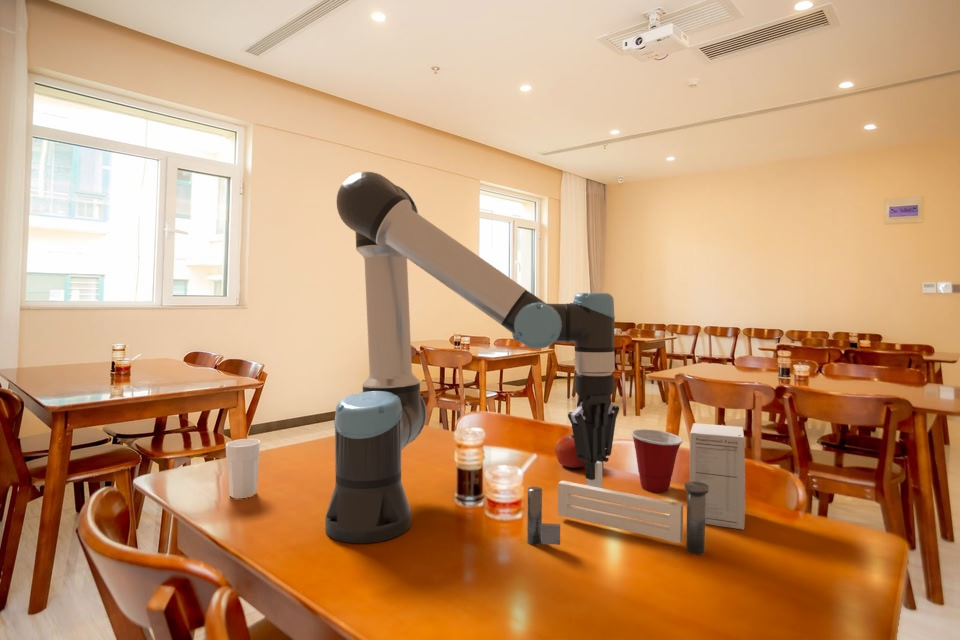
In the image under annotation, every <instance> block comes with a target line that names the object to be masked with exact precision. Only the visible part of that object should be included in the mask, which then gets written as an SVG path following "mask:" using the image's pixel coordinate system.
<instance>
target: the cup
mask: <svg viewBox="0 0 960 640" xmlns="http://www.w3.org/2000/svg"><path fill="white" fill-rule="evenodd" d="M260 453H261V440H260V439H257V438H256V439H255V438H242V439H235V440H231V441H228V442H226V443H225V456H226V461H227V475H228V490H229V497H230V496H231V497H233V498H246V497H250V496H253V495H254V494H255V493H256V492H257V493H258V481H259V477H258V476H259V460H260V459H259V458H260V455H261V454H260ZM231 497H230V498H231ZM253 497H254V496H253ZM250 498H251V497H250ZM246 499H247V498H246Z"/></svg>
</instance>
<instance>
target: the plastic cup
mask: <svg viewBox="0 0 960 640" xmlns="http://www.w3.org/2000/svg"><path fill="white" fill-rule="evenodd" d="M630 433H631V436H632V440H633V445H634V449H635V450H634V451H635V457H636V463H637V471H638V475H639V481H640V485H641V488H642V489H643V490H644V491H646V492H651V493H656V494H657V493H666V492H668V491H669V489H670V486H671V482H672V477H673V473H674V468H675V464H676V459H677V455H678V451H679V448H680V446H681V444H683V442H684V441H683V438H682V437H681V436H679V435H676V434H674V433H671V432H667V431H662V430H657V429H649V428H646V429H644V428H642V429H641V428H640V429H634V430H631V432H630Z"/></svg>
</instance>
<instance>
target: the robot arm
mask: <svg viewBox="0 0 960 640" xmlns="http://www.w3.org/2000/svg"><path fill="white" fill-rule="evenodd" d="M335 203H336V208H337V213H338V215H339V218H340V219H341V221H342V222H343V223H344V224H345V226H347V227H348V228H349V229H350V230H352V231H353V232H354V233H355V250H356V252H358V253H359V254H360V256H362V257H363V259H364V277H365V278H364V279H365V299H366V300H365V301H366V303H365V304H366V320H367V321H366V324H367V345H368V362H369V363H368V365H369V366H368V367H369V368H368V370H369V376H368V377H367V378H366V380H365V381H364V382H363V383H362V385H361V386H362V391H361V392H359V393H353V394H349V395H347V396H345V397H343V398H341V400H339V402H338V403H337V404H336V408H335V415H334V416H335V417H334V420H333V424H334V437H335V438H334V443H335V444H334V449H335V450H334V454H335V465H334V466H335V467H334V468H335V486H334V489H333V492H332V495H331V498H330V501H329V504H328V508H327V511H326V514H325V518H324V519H325V521H324V523H325V524H324V525H325V527H324V529H325V533H326V534H327V535H328V536H329V537H330V538H332V539H333V540H336V541H339V542H344V543H347V544H348V543H349V544H351V543H352V544H371V543H378V542H383V541H387V540H391V539H395V538H397V537H398V536H401V535H402V534H404V533H406V532H407V531H408V530H409V528H410V527H411V525H412V513H411V512H412V510H411V507H410V503H409V500H408V497H407V494H406V491H405V489H404V486H403V482H402V450H403V449H405V447H406V446H408V445H409V444H411V443H412V442H413V441H415V440H416V438H418V437H419V435H420V434H421V432H422V431H423V428H424V427H425V424H426V421H427V413H428V412H427V406H426V403H425V400H424V398H423V397H422V396H421V384H420V383H421V382H420V381H421V380H419V379H418V378H417V376H416V375H414V374H413V366H412V365H413V364H412V345H411V344H412V343H411V341H412V339H411V323H410V321H411V319H410V318H411V317H410V302H409V301H410V299H409V278H408V276H409V275H408V260H409V261H410V262H412V263H413V264H415V265H416V266H417V267H419V268H420V269H421V270H423V271H424V272H426V273H427V274H428V275H430V276H432V278H434V279H435V280H437V281H439V283H442V284H443V285H444V286H446V287H447V288H449V289H450V290H451V291H453V292H454V293H456V294H457V295H459V296H460V297H461V298H463V299H464V300H466V301H467V302H468V303H469V304H471V305H472V306H474V307H475V308H477V309H478V310H480V311H481V312H483V313H484V314H485V315H487V316H488V317H489V318H491V319H492V320H493V321H495V322H496V323H497V324H499V325H501V326H502V327H503V328H505V329H506V330H508V331H509V332H510V333H511V335H512V339H513V340H514V341H516V342H518V343H519V342H521V343H522V344H523V345H524V346H526V347H528V348H530V349H535V350H536V349H537V350H538V349H545V348H548V347H550V346H551V345H553V344H554V343H574V371H575V372H576V373H575V375H574V393H576V394H577V396H578V399H577V402H576V407H577V408H575V410H574V411H573V412H572V411H570V412H569V411H568V414H567V418H568V420H569V422H570V424H571V429H572V435H573V436H574V442H575V448H576V454H577V459H579V460H583V461H585V467H584V470H585V473H584V474H585V475H584V476H585V479H586V480H585V481H586V482H585V483H586V484H585V485H588V486H593V487H598V488H603V477H604V463H608V462H609V460H610V459H609V457H610V456H611V455H612V448H613V443H614V436H615V427H616V421H617V417H618V414H619V411H620V407H619V405H614V404H613V403H612V399H611V395H613V394H614V393H615V376H614V374H612V373H613V372H615V371H616V369H615V368H616V367H615V365H616V364H615V363H616V362H615V359H616V358H615V326H616V325H615V321H616V320H615V319H616V316H615V304H614V303H615V302H614V301H615V299H614V297H613V296H612V295H611V294H610V293H608V292H583V293H582V292H578V293H576V294H575V295H574V297H573V298H574V299H573V302H569V303H546V302H545V301H543V300H542V299H540V298H539V297H538V296H536V295H535V294H533V293H532V292H530V291H529V290H527V289H526V288H525V287H523V286H522V285H520V284H519V283H518V282H517V281H514V280H513V279H512V278H511V277H509V276H508V275H507V274H505V273H503V272H502V271H500V270H499V269H497V268H496V267H494V266H493V265H492V264H490V263H489V262H487V261H486V260H485V259H483V258H481V257H480V256H479V255H478V254H476V253H475V252H473V251H472V250H471V249H469V248H468V247H466V246H464V245H463V244H462V243H460V242H459V241H458V240H456V239H454V238H453V237H452V236H451V235H449V234H448V233H446V232H445V231H443V229H440V228H438V227H437V226H436V225H434V224H433V223H432V222H430V221H429V220H427V218H426V219H425V217H423V216H422V215H420V214H419V212H418V208H417V205H416V203H415V201H414V200H413V198H412V197H411V195H410V194H409V193H408V192H407V191H406V190H405V189H403V188H402V187H400V186H399V185H396V184H394V183H393V182H392V181H391V180H390V179H388V178H387V177H385V176H383V175H382V174H380V173H377V172H375V171H374V172H373V171H361V172H360V171H359V172H356V173H355V174H352V175H350V176H349V177H348V178H346V179H345V180H344V181H343V182H342V183H341V185H340V187H339V188H338V191H337V195H336V202H335Z"/></svg>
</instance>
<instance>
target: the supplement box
mask: <svg viewBox="0 0 960 640" xmlns="http://www.w3.org/2000/svg"><path fill="white" fill-rule="evenodd" d="M689 482H701V483H704V484H706V485H708V486H709V488H708V493H706V507H705V525H711V526H718V527H725V528H731V529H737V530H745V520H746V519H745V517H746V455H745V435H744V427H743V426H737V425H734V426H733V425H724V424H723V425H722V424H721V425H720V424H708V423H707V424H706V423H696V422H695V423H694V422H693V423H692V426H691V430H690V433H689Z"/></svg>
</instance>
